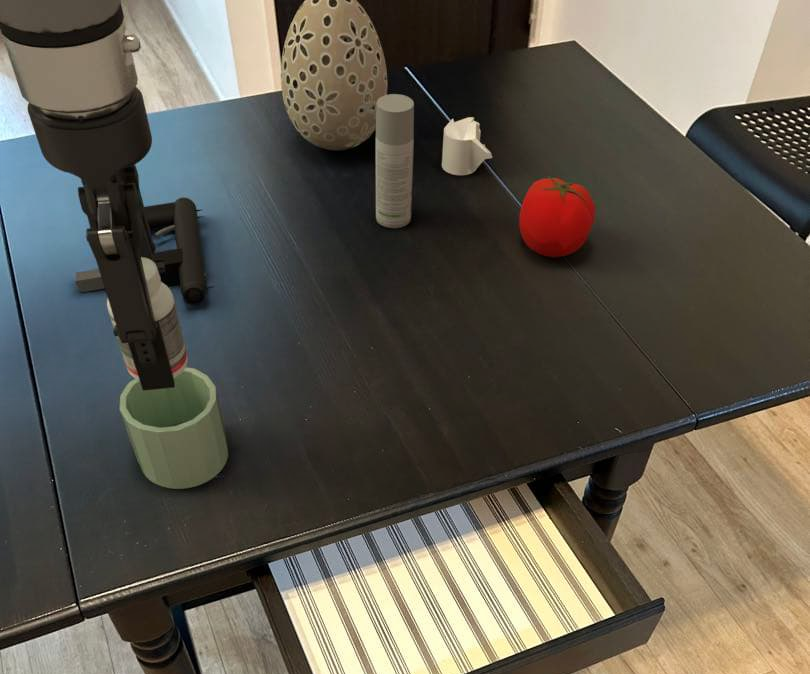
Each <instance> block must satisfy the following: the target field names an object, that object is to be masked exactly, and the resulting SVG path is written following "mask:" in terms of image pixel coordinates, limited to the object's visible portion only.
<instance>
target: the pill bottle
mask: <svg viewBox="0 0 810 674" xmlns="http://www.w3.org/2000/svg"><path fill="white" fill-rule="evenodd" d="M141 260H142V264H143V269H144V273H145V278H146V283H147V287H148V292H149V296H150V301H151V305H152V310H153V314H154V319H155V321H159V325H160V329H161V333H162V336H163V340H164V344H165V347H166V351H167V355H168V359H169V362H170V366H171V370H172V374H173V377H174V378H175V377H177V376H178V375H179V374H181V373H182V372H183V371H184V369H185V367H187V365H188V362H189V358H188V357H189V356H188V353H187V347H186V343H185V340H184V334H183V331H182V327H181V323H180V319H179V315H178V310H177V306H176V302H175V298H174V295H173V292H172V290H171V289H170V287H168V285H165V284H164V283H162V282H161V278H160V275H159V272H158V269H157V266H156V264H155V263H154V262H153V261H152V260H150V259H148V258H144V257H141ZM106 309H107V312H108V315H109V318H110V320H111V323H112V327H113V328H114V327H115V325H116V323H115V320H114V316H113V313H112V310H111V307H110V303H109V300H108V298H107V299H106ZM116 339H117V342H118V345H119V349H120V352H121V355H122V358H123V361H124V364H125V367H126V370H127V372H128V373H129V375H130V376H131V377H133V379H137V380H139V377H138V373H137V370H136V367H135V364H134V360H133V357H132V354H131V351H130V348H129V344H128V343H122V342H121V339H119V336H116ZM139 381H140V380H139Z"/></svg>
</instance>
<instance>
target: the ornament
mask: <svg viewBox="0 0 810 674" xmlns="http://www.w3.org/2000/svg"><path fill="white" fill-rule="evenodd" d="M289 25H290V26H289V28H288V31H287V34H286V37H285V40H284V45H283V48H282V49H283V50H282V55H281V63H280V64H281V65H280V87H281V88H280V89H281V95H282V101H283V103H284V107H285V110H286V113H287V116H288V118H289V120H290V121H291V123H292V125H293V126H294V128H295V130H296V131H297V132H298V133H299V134H300V136H302V138H304V139H305V140H306V141H307V142H309V143H310V144H312V145H313V146H316V147H318V148H321V149H324V150H327V151H346V150H350V149H353V148H356V147H357V146H360V145H361V144H362V143H364V142H365V141H366V140H368V139H369V138H370V137H371V136H372V135H373V134H374V132H376V107H377V100H378V99H379V98H380V97H382V96H385V95H388V72H387V63H386V58H385V55H384V51H383V47H382V44H381V41H380V37H379V34H378V32H377V30H376V28H375V26H374V24H373V21H372V20H371V17H370V16H369V15H368V13H367V12H366V10H365V8H364V7H363V5H362V4H361V3H360V2H359V1H358V0H304V2H302V4H301V5H300V6H299V8H298V10H297V11H296V13H295V15H294V17H293V19H292V20H291V22H290V24H289ZM352 27H353V28H354V29H355V32H354V31H353V29H352ZM345 39H346V41H344V40H345ZM369 49H371V50H369ZM353 50H354V51H353ZM352 52H353V53H352ZM347 54H349V58H347ZM377 54H378V55H379V58H378V56H377ZM311 67H312V70H311V71H310V68H311ZM294 81H296V84H297V85H296V88H295V87H294ZM353 82H354V83H353ZM306 91H308V93H307V92H306ZM291 94H292V97H291ZM308 94H309V95H308ZM309 106H313V108H312V109H310V107H309ZM373 107H374V108H373ZM360 110H363V111H361V112H360ZM304 117H305V119H304Z"/></svg>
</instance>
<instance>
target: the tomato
mask: <svg viewBox="0 0 810 674" xmlns="http://www.w3.org/2000/svg"><path fill="white" fill-rule="evenodd" d="M547 177H548V178H541V179H538V180H536V181H534V182H533V183H532V185H530V187H529V188H528V190H527V192H526V193H525V197H524V198H523V201H522V204H521V208H520V211H519V221H518V222H519V224H518V227H519V231H520V234H521V238H522V240H523V241H524V244H525V245H526V246H527V247H528V248H529V249H530V250H532V251H533V252H535V253H537V254H539V255H541V256H543V257H549V258H560V257H565V256H570V255H572V254H573V253H575V252H576V251H578V250H579V249H580V248H581V247H583V246H584V244H585V242H586V241H587V238H588V236H589V234H590V231H591V228H592V227H593V225H594V222H595V218H596V217H595V216H596V215H595V214H596V207H595V204H594V201H593V198H592V196H591V195H590V194H589V192H588V190H587V189H586V188H585V187H584V186H583V185H581V184H578V183H576V182H570V181H567V182H566V181H563V180H562V179H560V178H558V177H551V176H550V175H548V174H547Z"/></svg>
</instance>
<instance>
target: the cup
mask: <svg viewBox="0 0 810 674" xmlns="http://www.w3.org/2000/svg"><path fill="white" fill-rule="evenodd" d="M174 381H175V387H174V388H164V389H154V390H144V391H143V389H142V386H141V383H140V381H139V380H137V379H135V378H133V379H132V380H131V381H129V382H128V383H127V384H126V386H125V388H124V389H123V391H122V392H121V394H120V397H119V412H120V415H121V418H122V420H123V423H124V425H125V429H126V432H127V435H128V438H129V440H130V443H131V446H132V449H133V452H134V455H135V458H136V461H137V463H138V465H139V467H140V469H141V472H142V473H143V475H144V476H145V477H146V478H147V480H149V481H150V482H152V484H155V485H157V486H159V487H162V488H167V489H173V490H184V489H191V488H195V487H198V486H201V485H203V484H205V483H207V482H209V481H211V480H213V479H214V478H215V477H217V475H219V473H221V471H222V470H223V469H224V467H225V466H226V464H227V461H228V459H229V447H228V446H229V445H228V439H227V433H226V429H225V424H224V420H223V415H222V411H221V406H220V401H219V400H220V399H219V396H218V392H217V387H216V385H215V384H214V382H213V381H212V380H211V378H210V376H208V374H205V373H204V372H201V371H200V370H198V369H196V368H193V367H187V366H186V367H185V369H184V371H183V372H182V373H181V374H179V375H178V376H177V377H175V378H174Z"/></svg>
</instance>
